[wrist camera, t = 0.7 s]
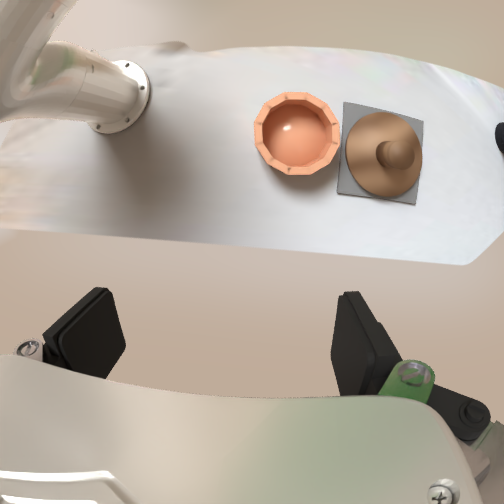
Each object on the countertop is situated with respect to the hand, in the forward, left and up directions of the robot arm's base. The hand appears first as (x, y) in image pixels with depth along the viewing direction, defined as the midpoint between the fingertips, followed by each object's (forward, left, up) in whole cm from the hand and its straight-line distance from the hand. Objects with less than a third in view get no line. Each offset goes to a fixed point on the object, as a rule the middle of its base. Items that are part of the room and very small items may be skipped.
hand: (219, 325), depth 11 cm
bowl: (-5, +10, -32) cm, 34 cm away
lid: (+4, +21, -32) cm, 38 cm away
